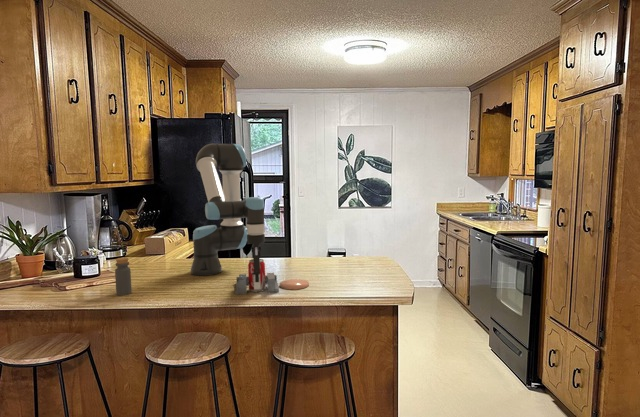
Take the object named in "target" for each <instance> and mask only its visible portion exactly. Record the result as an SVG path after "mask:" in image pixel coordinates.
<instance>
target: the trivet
mask: <svg viewBox="0 0 640 417" xmlns="http://www.w3.org/2000/svg"><path fill="white" fill-rule="evenodd" d="M309 286H310V282H309V281H308V280H306V279H301V278H299V279H298V278H295V279H293V278H291V279H286V280H282V281H280V282H279V287H280V288H281V289H283V290H291V291H292V290H302V289H306V288H308V287H309Z"/></svg>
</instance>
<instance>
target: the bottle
mask: <svg viewBox="0 0 640 417" xmlns="http://www.w3.org/2000/svg"><path fill="white" fill-rule="evenodd" d="M115 262H116V263H115V266H116V268H115V269H114V272H115V273H114V275H115V291H116V292H115V295H117V296H120V297H121V296H127V295H130V293H131V294H132V292H133V290H132V276H131V268H130V266H129V265H130V262H129V257H118V258H116V259H115Z"/></svg>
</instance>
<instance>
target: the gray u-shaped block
mask: <svg viewBox="0 0 640 417" xmlns="http://www.w3.org/2000/svg"><path fill="white" fill-rule="evenodd" d="M265 284H266V287H267V294H269V293H270V294H271V293H272V294H275V293H279V292H280V288H279V287H280V286H279V284H278V277H277V274H275V273H274V272H267V273H266V274H265ZM247 285H249V277H248V276H247V273H244V274H243V273H241V274H239V276H236V284H235V292H234V294H235V296H237V295H238V296H240V295H247V292H248V291H247V290H248V288H247V287H248V286H247Z"/></svg>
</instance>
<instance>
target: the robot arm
mask: <svg viewBox="0 0 640 417" xmlns="http://www.w3.org/2000/svg"><path fill="white" fill-rule="evenodd" d="M195 165H196V169H197V171H198V172H200V177H201V180H202V183H203V187H204V191H205V195H206V198H207V202H206V203H205V205H204V206H205V207H204V212H205V217H206V219H207V220H208V221H209V220H211V221H212V220H213V221H214V220H215V221H216V220H217V221H218V220H222V221H221V223H220V227H218V226H217V225H216V224H211V225H203V226H200V227H196V228H195V229H194V230H193V232H192V233H193V234H192V242H193V243H192V244H193V260H192V264H191V267H190V274H191V275H193V276H199V277H201V276H212V275H213V276H214V275H216V274H217V275H218V274H220V273H221V272H222V271H223V270H222V269H223V268H222V265H221V262H220V259H219V254H218V252H220V251H229V250H237V249H239V250H240V249H243V248H244V247H245V246H246V244H249V245H252V246H251V249H250V250H251V253H252V254H251V255H252V256H251V258H252V259H254V273H252V275H254V290H256V289H261V287H260V259H261V252H262V246H260V244H264V243H265V241H266V238H265V237H266V236H265V232H266V231H265V229H266V227H265V202H264V198H263V197H262V196H251V197H247V198H245V199H244V200H241V184H240V182H241V180H240V179H241V178H240V176H241V175H240V174H241V173H242V172H243V168H245V167H246V165H247V153H246V151H245V149H244V147H243V146H242V145H241V144H239V143H208V144H205V145H204V146H203V147H202V148H200V150H199V151H198V152H197V154H196V158H195ZM217 168H218V170H219V172H220V173H221V175H222V176H221V177H222V182H221V180H220V176H219V173H218V170H217ZM241 219H246V225H244V222H243V221H242V220H241Z"/></svg>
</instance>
